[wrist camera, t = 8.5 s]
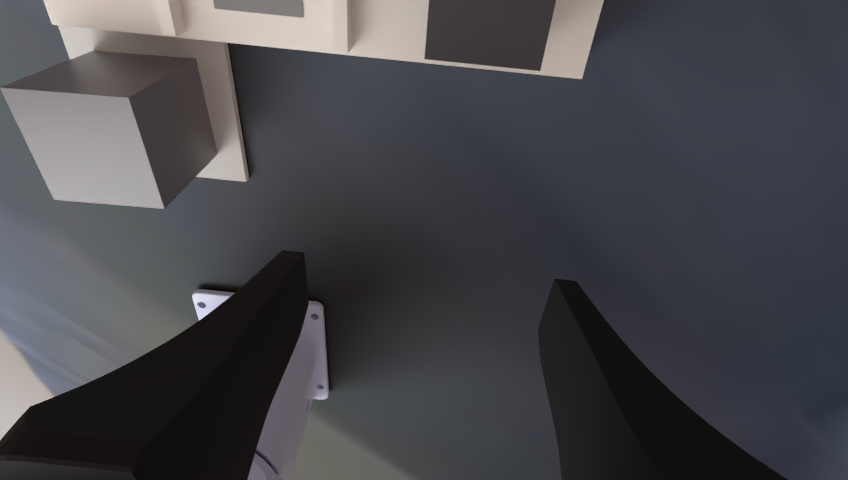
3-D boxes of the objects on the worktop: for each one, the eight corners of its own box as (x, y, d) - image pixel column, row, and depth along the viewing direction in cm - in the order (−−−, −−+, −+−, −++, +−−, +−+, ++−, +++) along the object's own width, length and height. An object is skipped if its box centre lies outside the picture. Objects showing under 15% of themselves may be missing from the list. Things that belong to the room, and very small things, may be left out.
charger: (195, 58, 20) (128, 97, 16) (217, 155, 23) (164, 210, 19) (93, 50, 20) (0, 87, 16) (127, 148, 23) (54, 201, 19)
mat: (249, 177, 24) (246, 181, 23) (113, 164, 24) (108, 167, 23) (225, 31, 20) (221, 33, 19) (61, 15, 20) (55, 16, 19)
